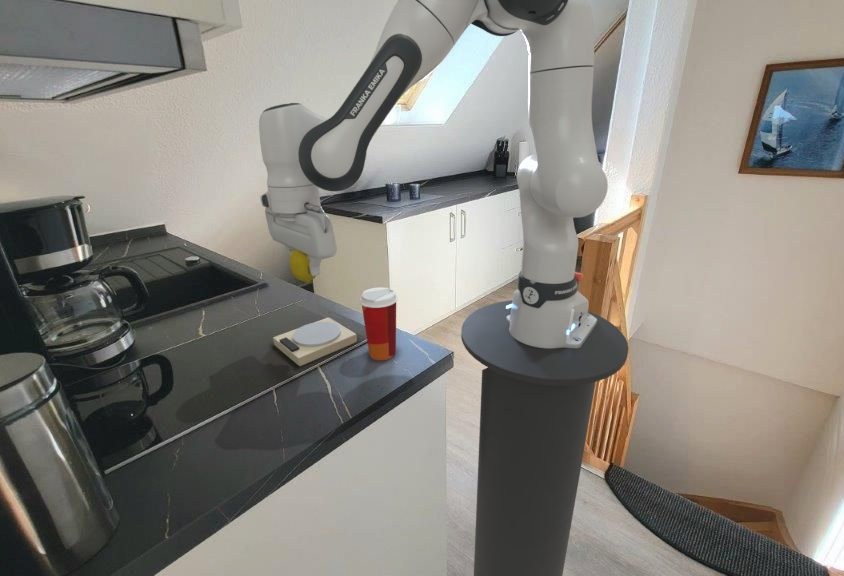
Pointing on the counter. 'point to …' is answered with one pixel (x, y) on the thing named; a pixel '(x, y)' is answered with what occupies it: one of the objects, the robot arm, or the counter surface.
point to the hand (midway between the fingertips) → (305, 270)
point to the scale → (314, 340)
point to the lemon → (300, 266)
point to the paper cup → (380, 321)
